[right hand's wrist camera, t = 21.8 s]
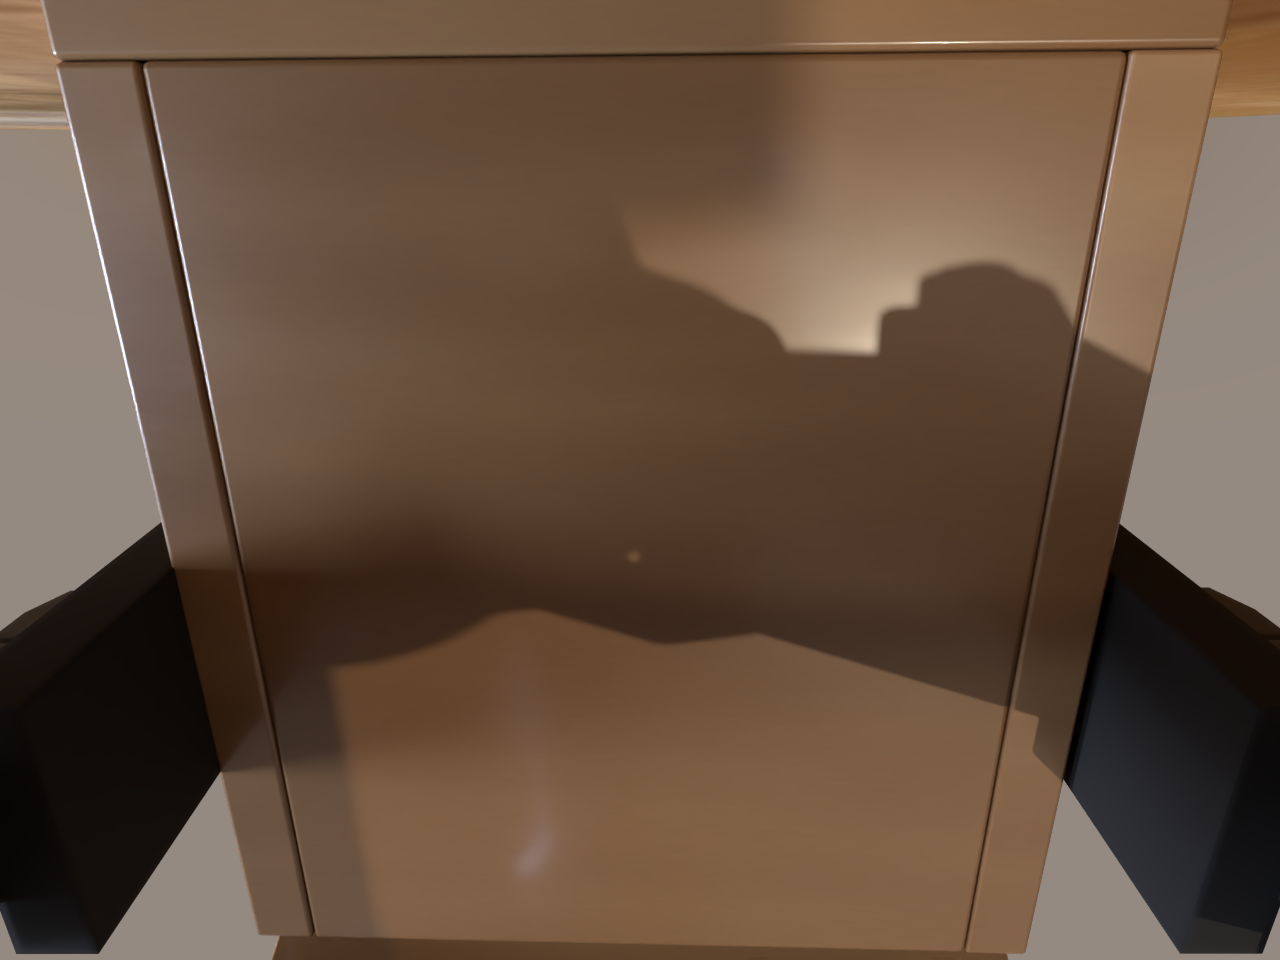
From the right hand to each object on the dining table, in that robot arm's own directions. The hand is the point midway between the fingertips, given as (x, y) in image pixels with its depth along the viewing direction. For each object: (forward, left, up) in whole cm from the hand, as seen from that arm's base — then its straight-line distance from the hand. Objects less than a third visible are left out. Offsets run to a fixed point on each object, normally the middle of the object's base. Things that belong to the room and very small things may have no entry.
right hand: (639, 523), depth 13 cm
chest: (+1, -4, -7) cm, 8 cm away
